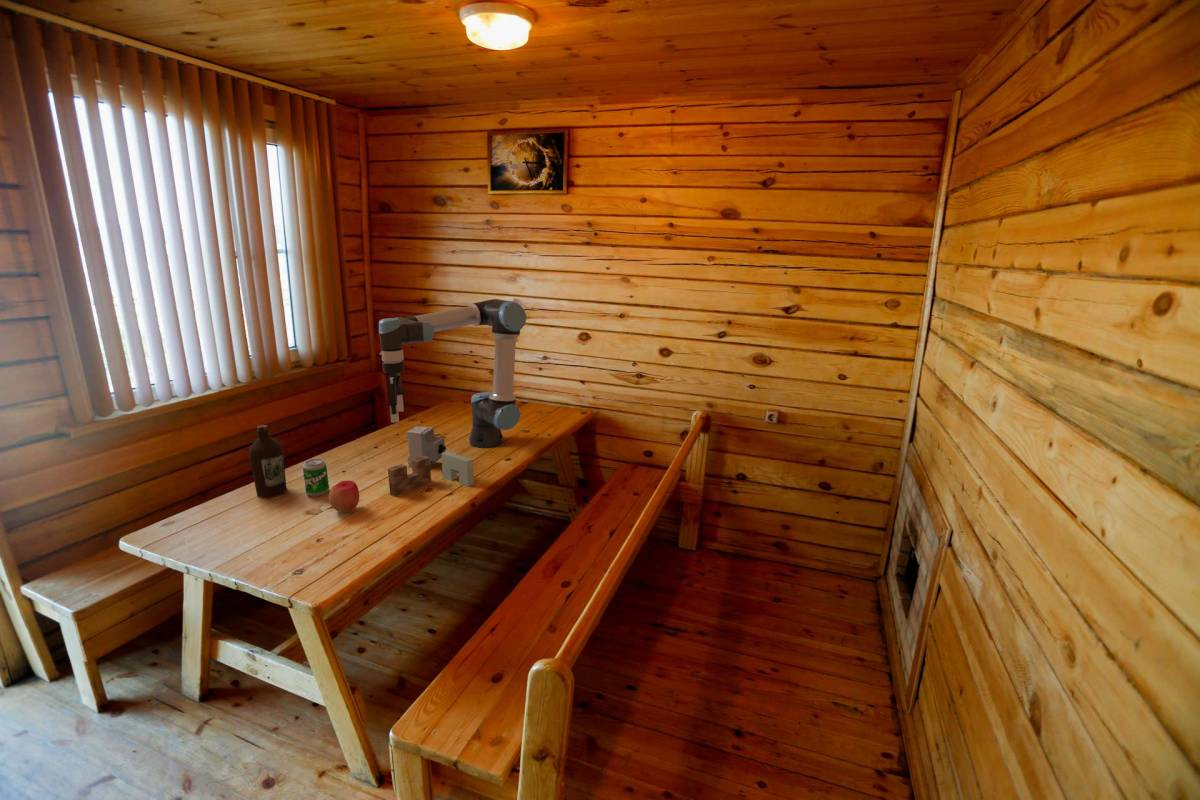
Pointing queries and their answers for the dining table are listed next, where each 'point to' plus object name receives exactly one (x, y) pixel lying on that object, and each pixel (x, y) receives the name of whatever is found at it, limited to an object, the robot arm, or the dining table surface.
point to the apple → (344, 496)
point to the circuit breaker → (424, 444)
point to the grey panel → (457, 468)
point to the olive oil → (267, 464)
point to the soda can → (315, 477)
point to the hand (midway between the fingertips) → (397, 416)
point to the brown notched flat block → (409, 476)
